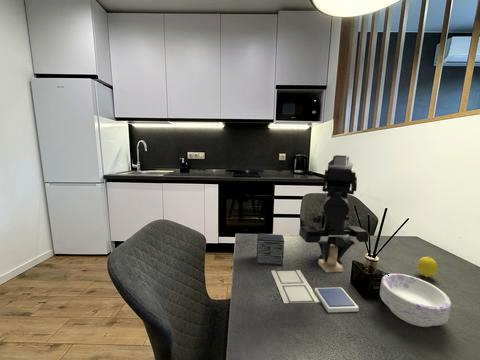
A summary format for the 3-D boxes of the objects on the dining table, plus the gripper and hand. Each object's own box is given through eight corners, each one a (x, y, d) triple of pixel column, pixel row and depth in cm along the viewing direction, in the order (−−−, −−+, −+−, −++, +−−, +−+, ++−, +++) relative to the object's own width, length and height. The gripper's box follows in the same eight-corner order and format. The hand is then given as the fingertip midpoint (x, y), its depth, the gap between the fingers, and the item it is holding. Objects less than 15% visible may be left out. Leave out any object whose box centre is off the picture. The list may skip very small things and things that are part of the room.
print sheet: (299, 270, 82) (299, 269, 81) (320, 302, 65) (320, 301, 65) (271, 271, 81) (271, 270, 81) (284, 303, 64) (284, 302, 64)
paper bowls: (429, 346, 51) (435, 316, 50) (367, 304, 65) (370, 280, 64) (457, 324, 58) (462, 297, 57) (395, 290, 72) (399, 268, 71)
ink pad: (341, 290, 71) (341, 286, 70) (358, 311, 62) (358, 306, 61) (314, 291, 70) (314, 287, 70) (328, 312, 61) (328, 307, 61)
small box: (281, 258, 91) (283, 234, 89) (283, 266, 84) (284, 240, 83) (256, 256, 92) (257, 232, 90) (256, 264, 85) (257, 238, 84)
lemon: (432, 275, 82) (435, 255, 80) (438, 283, 77) (441, 262, 75) (413, 271, 84) (417, 251, 83) (418, 278, 79) (421, 258, 78)
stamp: (333, 263, 67) (335, 242, 66) (342, 273, 62) (345, 250, 61) (318, 264, 67) (320, 242, 66) (326, 273, 62) (328, 250, 61)
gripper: (349, 203, 71) (344, 248, 73) (294, 203, 69) (291, 249, 71) (373, 213, 60) (366, 266, 62) (309, 213, 58) (304, 267, 60)
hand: (330, 261), depth 64 cm, fingers closed on stamp, 3 cm apart
